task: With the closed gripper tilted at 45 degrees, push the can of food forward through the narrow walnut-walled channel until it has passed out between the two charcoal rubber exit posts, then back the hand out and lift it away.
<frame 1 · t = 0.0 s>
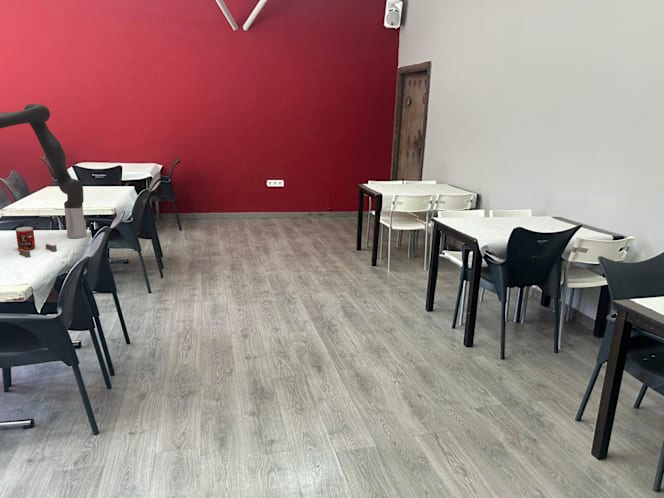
exit posts: (41, 253, 253), on the table
channel walls: (37, 252, 255), on the table
canned food: (27, 249, 260), on the table
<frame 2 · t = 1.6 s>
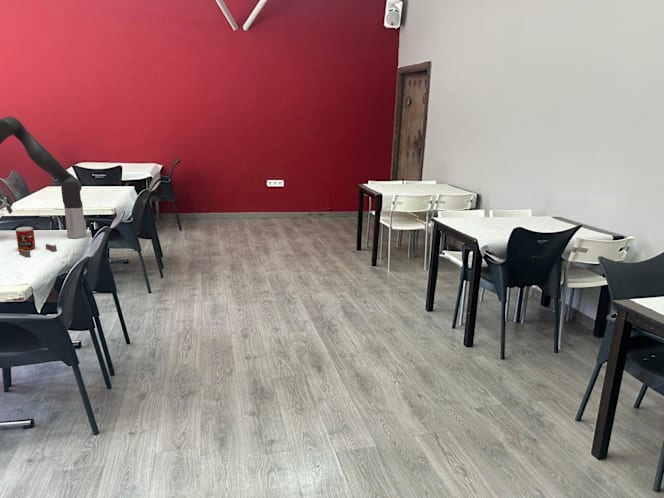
hand: (2, 213, 266), 16 cm above the table, tool tilted 45°, fingers open, 7 cm apart
nothing on the table moved.
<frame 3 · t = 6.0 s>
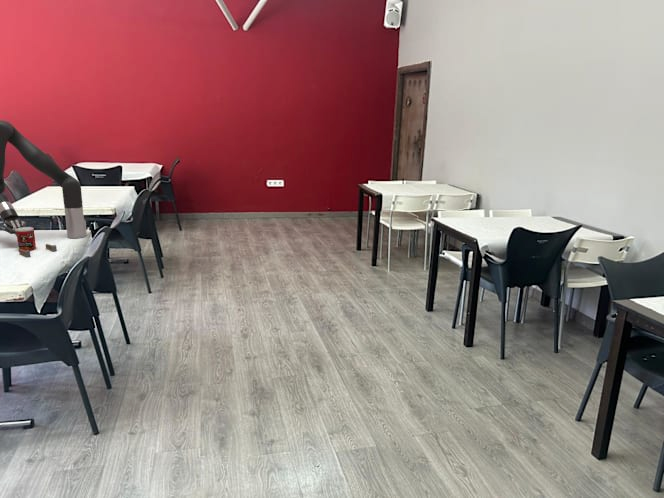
hand: (21, 238, 260), 5 cm above the table, tool tilted 45°, fingers closed
canned food: (27, 249, 259), on the table, touching gripper
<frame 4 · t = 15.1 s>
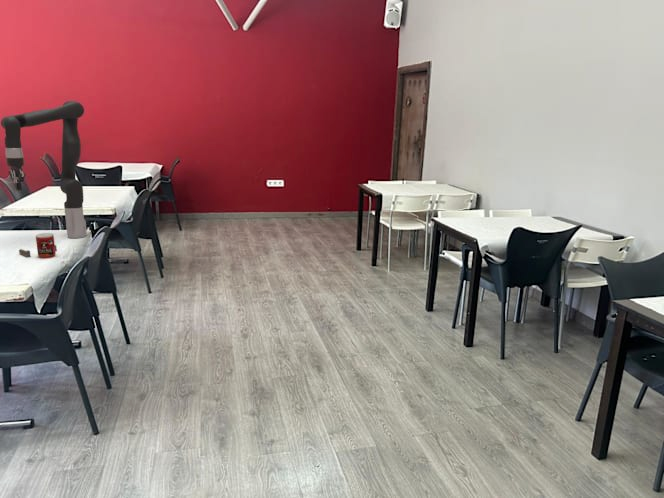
hand: (18, 190, 261), 29 cm above the table, tool pointing down, fingers closed
canned food: (47, 256, 250), on the table
at the end: canned food inside the target area (0.2 cm from its centre), on the table; canned food tilted 0°; canned food moved 19.3 cm from its start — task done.
